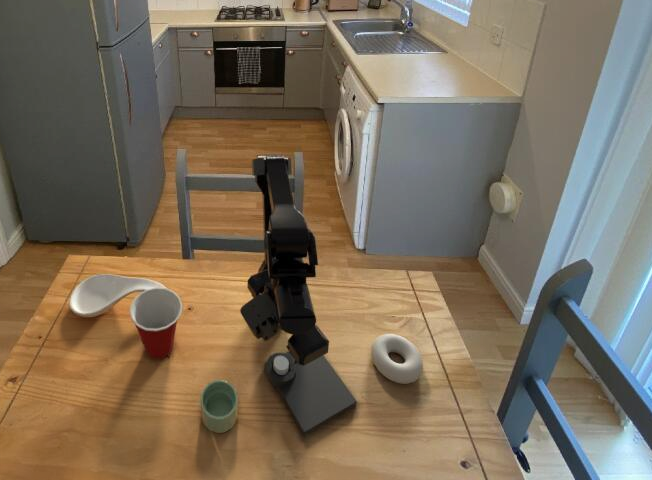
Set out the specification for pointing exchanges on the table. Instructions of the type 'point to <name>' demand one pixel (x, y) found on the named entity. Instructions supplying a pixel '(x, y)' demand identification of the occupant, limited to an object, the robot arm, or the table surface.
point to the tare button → (281, 365)
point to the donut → (391, 369)
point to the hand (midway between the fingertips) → (283, 343)
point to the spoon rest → (105, 293)
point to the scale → (311, 392)
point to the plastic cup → (156, 319)
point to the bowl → (219, 406)
